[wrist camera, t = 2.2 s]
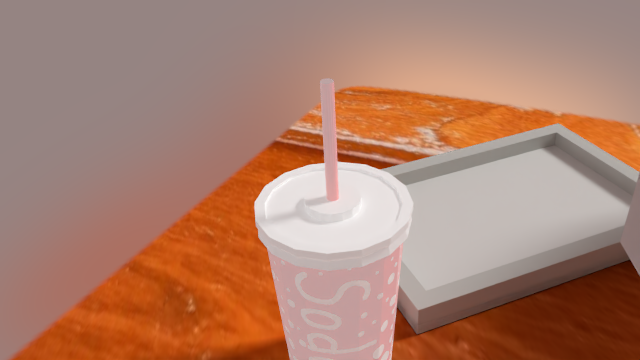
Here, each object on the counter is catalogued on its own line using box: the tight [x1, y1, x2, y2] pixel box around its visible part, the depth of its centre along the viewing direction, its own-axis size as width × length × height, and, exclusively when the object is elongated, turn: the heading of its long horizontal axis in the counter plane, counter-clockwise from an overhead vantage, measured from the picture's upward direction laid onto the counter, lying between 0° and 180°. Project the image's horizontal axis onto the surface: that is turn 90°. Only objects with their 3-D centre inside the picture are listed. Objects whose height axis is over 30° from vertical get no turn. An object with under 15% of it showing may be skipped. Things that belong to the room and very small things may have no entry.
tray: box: [381, 123, 640, 334], centre depth 36 cm, size 18×12×2 cm, turn 112°
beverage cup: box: [255, 78, 413, 360], centre depth 24 cm, size 6×6×14 cm
